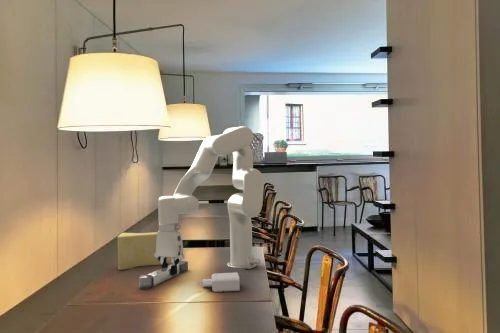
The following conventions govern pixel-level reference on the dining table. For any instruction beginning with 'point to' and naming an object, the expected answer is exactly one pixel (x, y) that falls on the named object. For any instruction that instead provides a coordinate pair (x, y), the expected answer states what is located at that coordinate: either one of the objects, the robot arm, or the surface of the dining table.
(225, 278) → the charger
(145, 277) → the tongs hinge pin
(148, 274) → the tongs leg
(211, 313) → the dining table surface
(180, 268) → the tongs leg
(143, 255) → the cheese
